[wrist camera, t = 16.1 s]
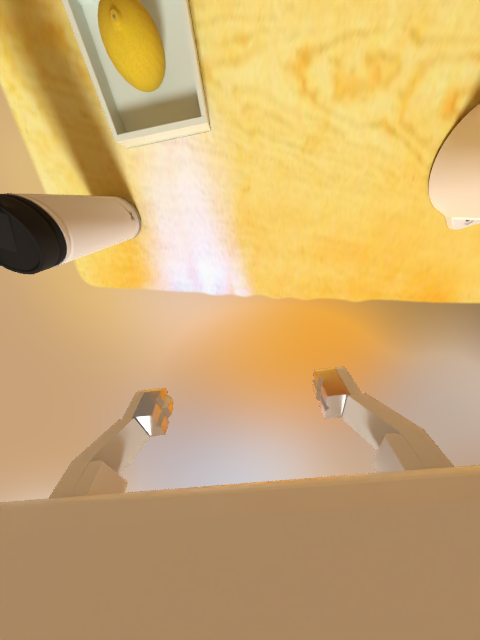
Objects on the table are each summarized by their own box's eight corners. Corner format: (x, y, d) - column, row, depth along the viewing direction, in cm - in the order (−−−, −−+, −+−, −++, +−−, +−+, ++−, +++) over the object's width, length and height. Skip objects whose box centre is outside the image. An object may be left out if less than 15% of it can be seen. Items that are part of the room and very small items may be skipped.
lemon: (115, 58, 22) (62, -4, 15) (149, 16, 21) (107, -74, 14) (151, 115, 25) (119, 84, 18) (183, 82, 23) (161, 33, 16)
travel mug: (144, 204, 30) (30, 210, 14) (139, 244, 34) (42, 289, 17) (102, 186, 29) (-83, 168, 12) (101, 229, 32) (-46, 262, 15)
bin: (183, -28, 19) (174, -67, 17) (210, 131, 26) (207, 122, 23) (76, 1, 20) (49, -31, 17) (128, 148, 27) (115, 142, 24)
